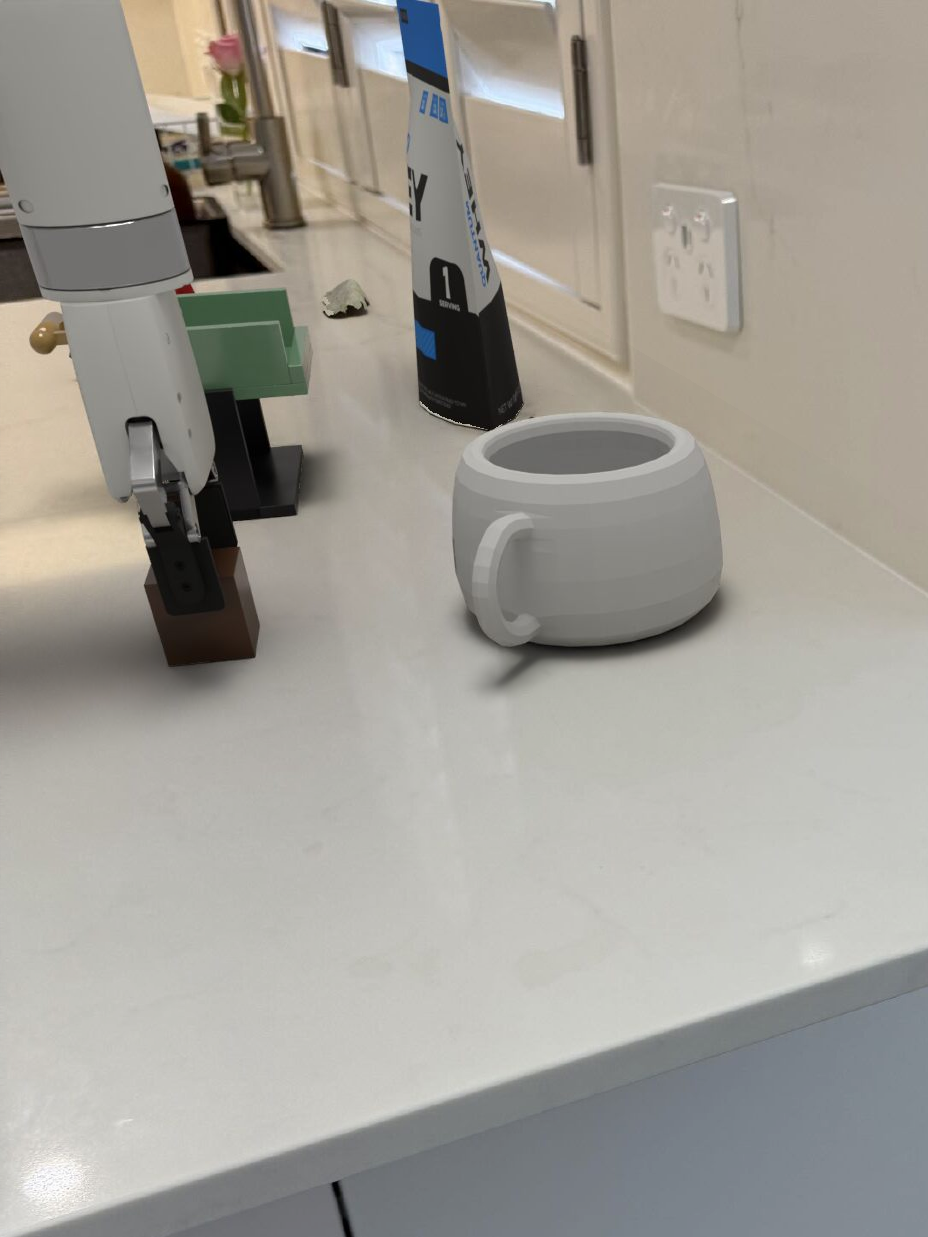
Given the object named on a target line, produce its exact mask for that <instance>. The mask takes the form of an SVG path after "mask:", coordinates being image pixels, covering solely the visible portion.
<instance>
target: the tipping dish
mask: <svg viewBox="0 0 928 1237" xmlns="http://www.w3.org/2000/svg"><path fill="white" fill-rule="evenodd" d="M177 299H178V302H179V305H180V308H181V310H182V316H183V319H184V322H185V326H186V329H187V333H188V336H189V339H190V343H191V347H192V350H193V354H194V357H195V361H196V364H197V368H198V372H199V375H200V379H201V383H202V387H203V390H208V389H221V388H233V392H234V396H235V400H245V399H258V398H260V399H269V398H282V397H283V398H284V397H293V396H306V395H309V388H310V380H311V372H312V363H313V355H314V350H313V346H312V341H311V335H310V330H309V327H308V325H297V326H295V322H294V318H293V317H294V316H293V313H292V308H291V302H290V298H289V293H288V288H287V287H286V286H281V287H268V288H267V287H266V288H251V289H239V290H225V291H210V292H209V291H208V292H195V293H192V294H177ZM28 342H29V345H30V347H31V349H32V350H33V351H34V352H35V353H37V354H39V355H43V356H45V355H49V354H51V353H53V351H54V350H56V348H57V346H68V341H67V337H66V332H65V327H64V322H63V316H62V312H59V311H51V312H49V313H47V314H46V315H45V317H44V318H43V319H42V320H41V321H40V323H39V324H38V325H37V326H36V327H35V328H34V329H33V331H31V333H30V334H29V339H28Z"/></svg>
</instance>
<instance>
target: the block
mask: <svg viewBox="0 0 928 1237" xmlns="http://www.w3.org/2000/svg"><path fill="white" fill-rule="evenodd" d="M211 551H212V555H213V558H214V562H215V565H216V569H217V572H218V576H219V579H220V583H221V586H222V590H223V593H224V597H225V601H226V602H225V607H224V608H223V609H222V610H220V611H212V612H203V613H195V614H187V615H179V616H172V615H169V614H168V613H167V612H166V609H165V606H164V603H163V600H162V597H161V594H160V591H159V587H158V584H157V581H156V578H155V575H154V572H153V569H152V565H151V564H149V565H150V566H149V568H148V572H147V574H146V577H145V579H144V582H143V583H144V584H143V588H144V591H145V595H146V598H147V600H148V605H149V607H150V611H151V615H152V618H153V620H154V623H155V627H156V631H157V635H158V637H159V640H160V644H161V647H162V651H163V654H164V657H165V661H166V663H167V666H168V667H176V666H186V665H194V664H204V663H213V662H221V661H231V660H239V659H251V658H256V654H257V653H256V652H257V646H258V639H259V632H260V626H261V623H260V620H259V615H258V611H257V608H256V604H255V601H254V596H253V593H252V589H251V584H250V580H249V576H248V573H247V568H246V564H245V561H244V556H243V553H242V549H241V546H237V547H229V548H219V549H211Z"/></svg>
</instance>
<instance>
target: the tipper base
mask: <svg viewBox="0 0 928 1237" xmlns="http://www.w3.org/2000/svg"><path fill="white" fill-rule="evenodd" d="M204 395H205V398H206V402H207V407H208V411H209V415H210V419H211V424H212V429H213V434H214V440H215V454H214V458H213V461H214V463H215V466H216V470H217V474H218V481H212V482H210V483H217V482H222V485H223V489H224V492H225V496H226V500H227V503H228V507H229V511H230V514H231V518H232V522H235V521H244V520H254V519H255V520H256V519H265V518H277V517H287V516H296V515H297V514H298V506H299V498H298V494H299V495H300V489H299V486H300V487H301V481H300V477H301V478H302V472H303V463H302V459H303V460H304V455H303V453H304V448H303V445H302V444H291V445H281V446H271V442H270V438H269V433H268V429H267V425H266V420H265V415H264V412H263V408H262V407H263V406H262V403H261V398H258V399H245V400H235V396H234V392H233V388H221V389H208V390H204ZM301 469H302V470H301ZM301 471H302V472H301ZM299 484H300V485H299Z"/></svg>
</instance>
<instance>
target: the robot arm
mask: <svg viewBox="0 0 928 1237" xmlns="http://www.w3.org/2000/svg"><path fill="white" fill-rule="evenodd" d="M144 88H145V87H144V85H143V81H142V78H141V73H140V70H139V66H138V62H137V58H136V54H135V51H134V47H133V43H132V39H131V36H130V32H129V27H128V24H127V20H126V16H125V13H124V10H123V6H122V2H121V0H0V173H1V175H2V178H3V182H4V185H5V187H6V190H7V194H8V196H9V200H10V202H11V206H12V209H13V211H14V214H15V218H16V220H17V223H18V226H19V230H20V233H21V236H22V238H23V242H24V245H25V248H26V251H27V254H28V257H29V260H30V263H31V266H32V270H33V273H34V275H35V279H36V282H37V284H38V288H39V291H40V294H41V296H42V298H44V300H46V301H50V302H56V303H57V302H58V303H60V304H59V306H60V309H61V314H62V316H63V322H64V327H65V332H66V337H67V341H68V345H67V346H68V350H69V353H70V354H71V358H72V359H71V358H70V359H71V362H72V366H73V370H74V373H75V378H76V381H77V385H78V389H79V392H80V397H81V399H82V403H83V406H84V410H85V414H86V417H87V421H88V426H89V428H90V431H91V435H92V438H93V442H94V446H95V449H96V452H97V456H98V459H99V463H100V466H101V470H102V474H103V477H104V481H105V484H106V488H107V491H108V493H109V496H110V497H111V498H112V499H114V500H115V501H116V502H118V503H119V504H125V503H128V501H129V500H130V498H131V497H132V495H134V497H135V499H136V502H137V508H138V511H137V514H138V520H139V523H140V527H141V532H142V537H143V542H144V545H145V550H146V552H147V556H148V559H149V562H150V565H152V569H153V572H154V575H155V578H156V581H157V584H158V587H159V591H160V594H161V597H162V600H163V603H164V606H165V609H166V612H167V613H168V614H169V615H172V616H179V615H187V614H195V613H203V612H212V611H220V610H222V609H223V608H224V607H225V602H226V601H225V597H224V593H223V590H222V586H221V583H220V579H219V576H218V572H217V569H216V565H215V562H214V558H213V555H212V551H211V549H219V548H229V547H238V545H239V540H238V537H237V532H236V529H235V526H234V521H232V518H231V514H230V511H229V507H228V503H227V500H226V496H225V492H224V489H223V485H222V482H217V483H210V482H212V481H218V474H217V470H216V466H215V463H214V461H213V458H214V454H215V440H214V434H213V429H212V424H211V419H210V415H209V411H208V407H207V402H206V398H205V395H204V390H203V387H202V383H201V379H200V375H199V372H198V368H197V364H196V361H195V357H194V354H193V350H192V347H191V343H190V339H189V336H188V333H187V329H186V326H185V322H184V319H183V316H182V310H181V308H180V305H179V302H178V299H177V295H176V292H175V289H178V288H181V287H183V286H184V285H188V284H191V283H193V281H194V279H195V278H194V275H193V270H192V268H191V264H190V260H189V256H188V253H187V249H186V244H185V241H184V238H183V237H184V236H183V233H182V228H181V226H180V223H179V218H178V214H177V210H176V207H175V204H174V200H173V196H172V192H171V188H170V185H169V180H168V176H167V173H166V168H165V165H164V161H163V158H162V154H161V149H160V146H159V141H158V138H157V134H156V130H155V126H154V122H153V119H152V115H151V110H150V108H149V104H148V100H147V97H146V93H145V89H144Z"/></svg>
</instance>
